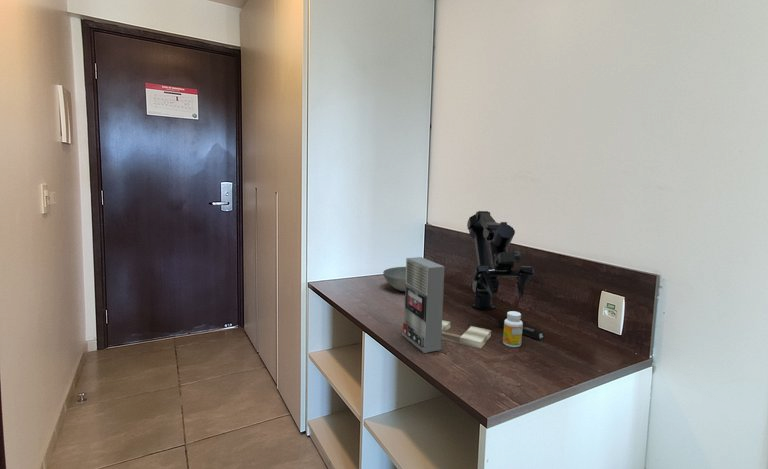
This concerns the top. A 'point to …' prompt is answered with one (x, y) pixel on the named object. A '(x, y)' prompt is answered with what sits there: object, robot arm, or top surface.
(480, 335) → the notched board
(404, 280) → the bowl
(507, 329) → the supplement bottle
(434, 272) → the cassette tape recorder
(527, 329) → the electric trimmer
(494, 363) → the top surface
